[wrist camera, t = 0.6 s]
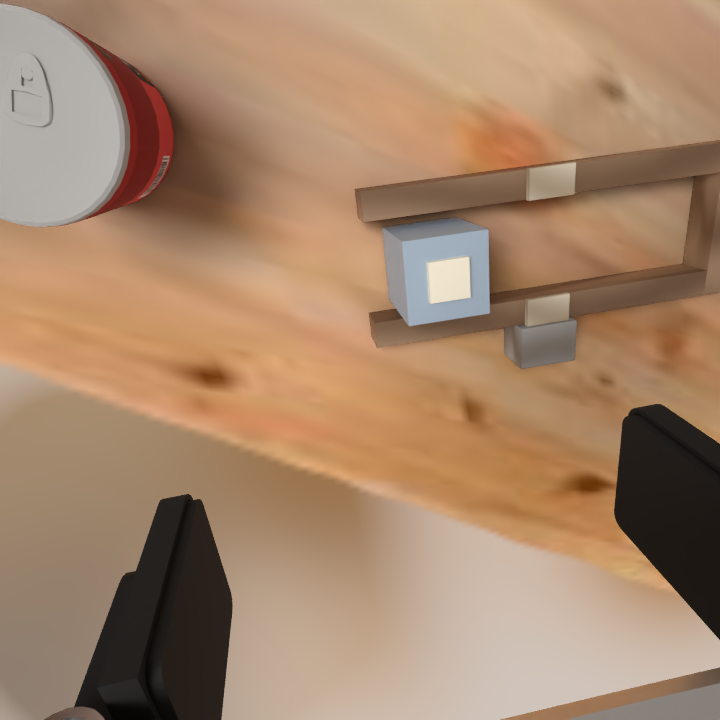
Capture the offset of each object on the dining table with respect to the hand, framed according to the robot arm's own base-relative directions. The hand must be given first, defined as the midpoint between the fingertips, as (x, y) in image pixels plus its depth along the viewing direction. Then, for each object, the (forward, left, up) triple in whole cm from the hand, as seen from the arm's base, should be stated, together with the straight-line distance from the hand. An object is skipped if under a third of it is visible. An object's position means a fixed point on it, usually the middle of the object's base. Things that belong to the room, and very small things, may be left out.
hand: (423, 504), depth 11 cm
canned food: (-10, -12, -26) cm, 30 cm away
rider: (0, +6, -26) cm, 26 cm away
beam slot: (+2, +15, -25) cm, 30 cm away
